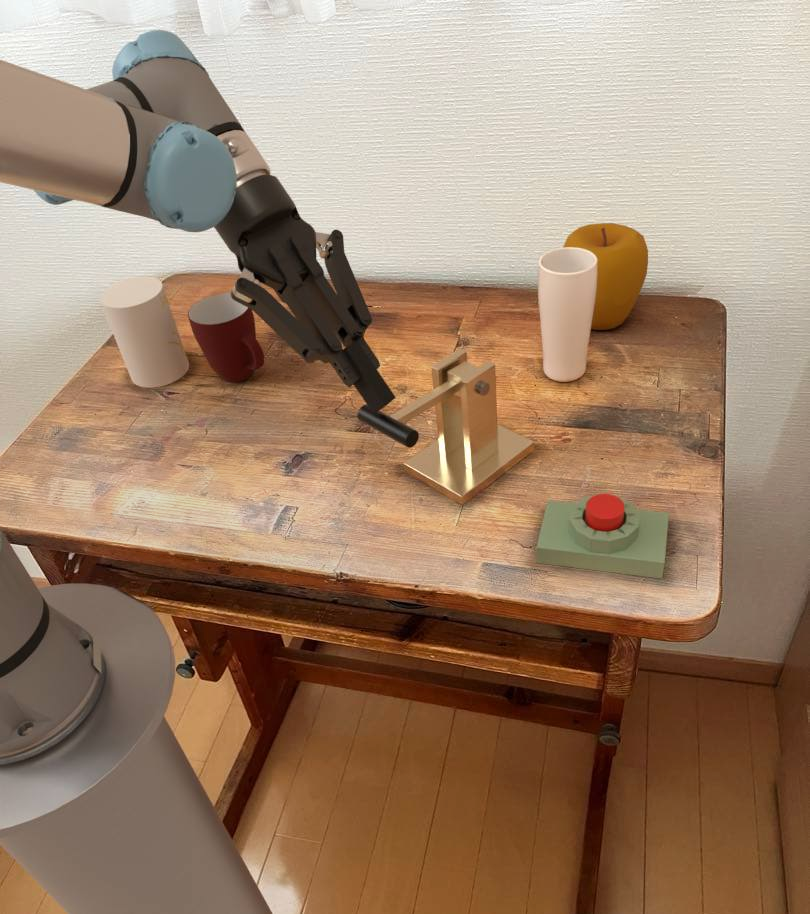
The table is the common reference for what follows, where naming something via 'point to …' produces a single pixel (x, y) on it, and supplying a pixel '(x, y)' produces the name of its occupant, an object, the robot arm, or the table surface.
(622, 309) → the apple
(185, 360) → the cup
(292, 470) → the table surface
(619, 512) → the stop button
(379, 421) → the lever
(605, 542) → the control pad
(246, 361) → the mug
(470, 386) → the power switch
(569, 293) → the drinking glass
